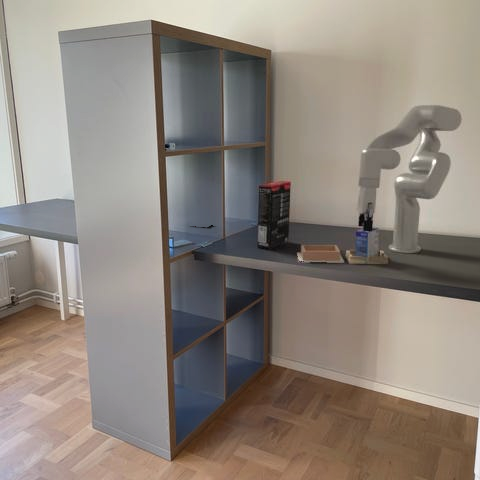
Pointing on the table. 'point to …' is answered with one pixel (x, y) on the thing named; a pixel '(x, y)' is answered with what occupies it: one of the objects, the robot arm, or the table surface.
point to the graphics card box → (273, 214)
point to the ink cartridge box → (367, 243)
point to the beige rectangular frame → (353, 259)
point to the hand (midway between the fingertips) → (364, 228)
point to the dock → (320, 254)
